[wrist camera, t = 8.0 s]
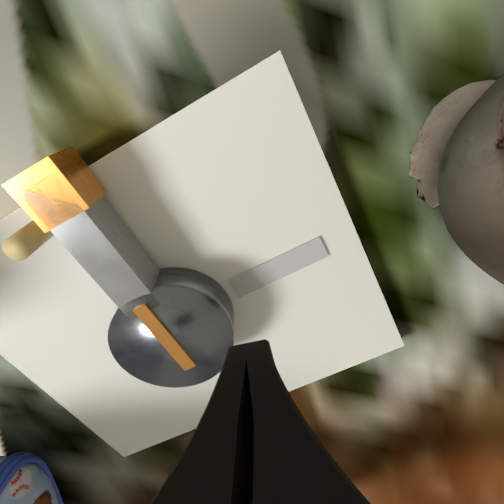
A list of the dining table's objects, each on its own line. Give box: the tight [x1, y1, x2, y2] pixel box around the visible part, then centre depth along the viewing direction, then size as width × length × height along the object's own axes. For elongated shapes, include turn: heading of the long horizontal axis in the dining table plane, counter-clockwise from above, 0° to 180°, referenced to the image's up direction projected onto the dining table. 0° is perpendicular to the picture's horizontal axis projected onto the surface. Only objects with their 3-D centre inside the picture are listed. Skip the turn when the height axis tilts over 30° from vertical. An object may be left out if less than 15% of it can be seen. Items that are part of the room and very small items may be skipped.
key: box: [2, 146, 234, 388], centre depth 19 cm, size 15×7×3 cm, turn 28°
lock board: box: [0, 51, 404, 457], centre depth 21 cm, size 20×24×4 cm
